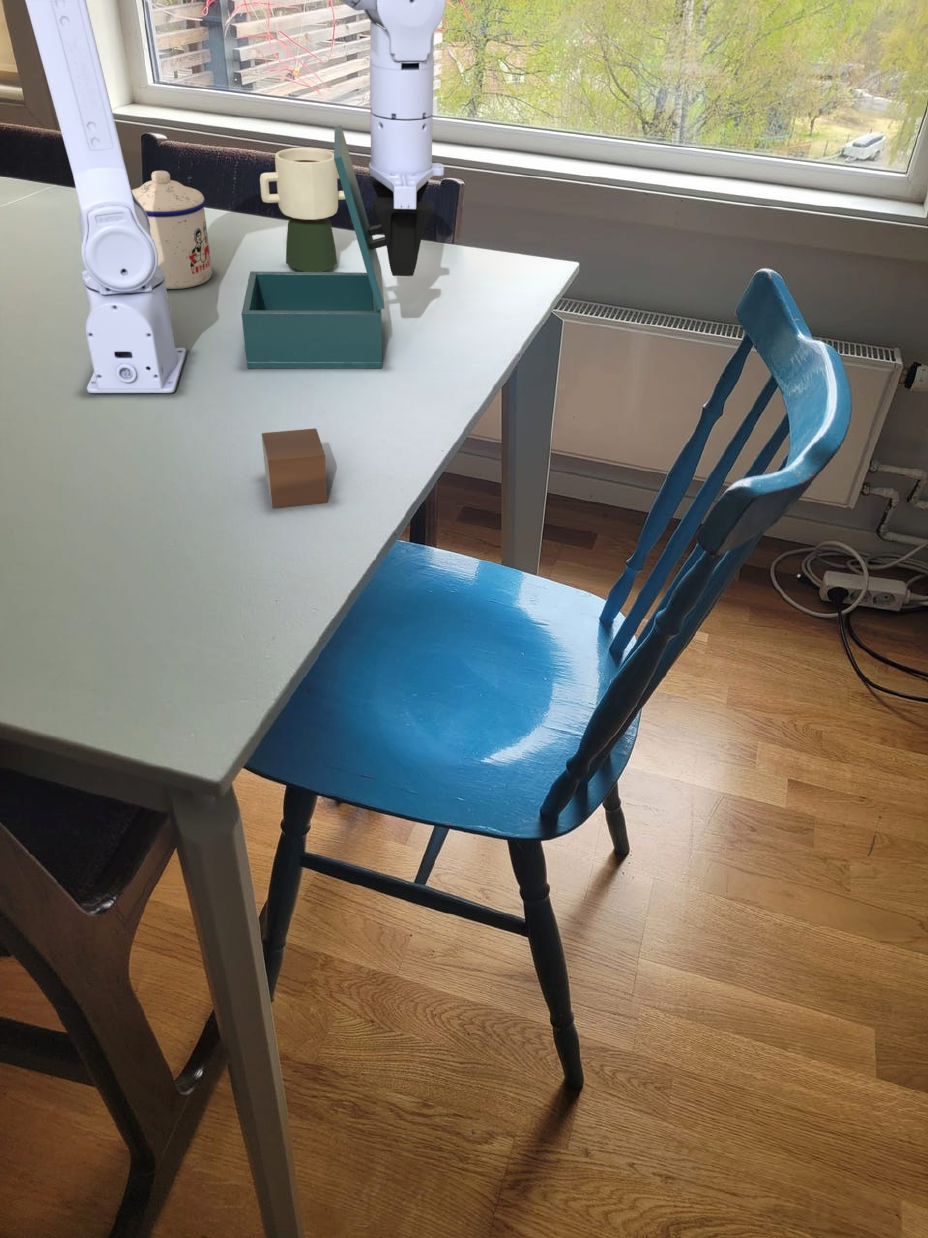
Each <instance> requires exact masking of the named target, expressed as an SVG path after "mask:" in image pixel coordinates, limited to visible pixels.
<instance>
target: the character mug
mask: <svg viewBox="0 0 928 1238" xmlns="http://www.w3.org/2000/svg"><path fill="white" fill-rule="evenodd" d="M274 165H275V171H273V172H263V173H261V174H260V177H259V184H260V186H259V187H260V197H261V200H262V202H263V203H266V204H277V205H278V208H279V210H280V212H281V213H282V214H283V215H284V216H287V217H290V218H289V220H288V223H287V230H286V231H287V233H286V247H285V249H286V250H285V264H286V265H288V266H289V268H292V269H295V270H298V271H299V272H327V271H328V270H331V269H333V268H334V267H335V266H336V265H337V263H338V259H337V258H338V257H337V251H336V243H335V237H334V233H333V232H334V231H333V227H332V226H333V225H332V223H331V221H330V219H329V217H332V216H334V215H335V214H337V212H338V209H339V200H340V201H341V200H346V199H345V195H344V192H343V190H338V189H339V187H338V180H340V178H339V175H338V171H337V168H336V164H335V161H334V151H330V150H327V149H322V148H318V147H317V148H316V147H293V148H292V147H291V148H285V149H282V150H279V151H277V152H276V153H275V157H274ZM270 182H276V190H277V193H270V184H269V183H270Z"/></svg>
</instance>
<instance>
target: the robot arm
mask: <svg viewBox="0 0 928 1238" xmlns="http://www.w3.org/2000/svg"><path fill="white" fill-rule="evenodd" d="M24 1H25V5H26V8H27V12H28V15H29V19H30V23H31V27H32V30H33V35H34V38H35V41H36V45H37V48H38V53H39V56H40V59H41V63H42V66H43V67H42V68H43V70H44V74H45V77H46V81H47V85H48V89H49V92H50V96H51V100H52V104H53V107H54V110H55V114H56V118H57V121H58V122H57V123H58V125H59V129H60V132H61V137H62V140H63V143H64V148H65V151H66V154H67V158H68V162H69V166H70V169H71V173H72V176H73V177H72V178H73V181H74V182H73V183H74V187H75V190H76V195H77V199H78V204H79V212H78V220H77V221H78V229H79V233H80V237H81V247H80V253H81V260H82V263H83V266H84V268H85V269H83V270H82V272H81V274H82V276H81V278H82V282H83V287H84V292H85V298H86V301H87V307H88V311H89V312H88V316H87V319H86V322H85V335H86V342H87V345H88V350H89V355H90V359H91V365H92V370H93V373H92V376H91V377H90V379H89V382H88V384H87V385H86V391H87V392H88V393H89V394H172V393H174V392H175V391H176V388H177V384H178V383H179V378H180V375H181V372H182V368H183V364H184V362H185V359H186V354H187V348H185V347H176V343H175V336H174V330H173V325H172V316H171V311H170V304H169V297H168V291H167V290H168V289H166V284H165V278H164V271H163V269H162V268H160V267H159V266H158V265H157V264H158V253H157V249H156V246H155V243H154V240H153V239H152V237H151V233H150V223H149V218H148V216H147V213H146V211H145V210H144V208H143V207H142V205H141V204H140V203H139V202H138V200H137V199H136V198H135V196H134V195H133V192H132V190H133V189H132V188H131V184H130V182H129V176H128V172H127V166H126V164H125V163H126V162H125V159H124V155H123V151H122V147H121V142H120V138H119V134H118V130H117V126H116V122H115V117H114V112H113V109H112V104H111V100H110V96H109V91H108V88H107V84H106V80H105V79H106V78H105V75H104V71H103V68H102V63H101V59H100V54H99V50H98V46H97V45H98V44H97V42H96V38H95V33H94V28H93V25H92V21H91V16H90V11H89V8H88V4H87V0H24ZM339 1H340V2H341V3H342V4H344V5H346V6H348V7H349V8H351V9H353V10H354V11H363V12H364V14H365V15H366V17H367V18H368V19H369V21H370V23H369V27H370V28H369V30H370V32H369V34H370V36H369V37H370V38H369V39H370V41H369V42H370V51H369V105H370V106H369V108H370V109H369V110H370V112H369V117H370V118H369V119H370V122H369V123H370V162H369V163H368V173H369V175H370V176H371V177H370V183H371V186H372V187H373V189H374V191H375V193H376V197H375V196H373V197H372V207H373V209H374V210H373V211H374V213H375V214H376V216H377V219H378V220H379V224H381V226H382V229H383V232H384V233H383V235H384V236H383V237H385V240H386V246H385V247H386V251H387V258H388V259H387V260H388V264H389V269H390V273H391V275H392V276H393V277H414V274H415V271H416V267H417V262H418V258H419V252H420V247H421V242H422V239H423V235H424V232H425V229H426V227H427V225H428V222H429V221H430V219H431V217H432V215H433V213H434V210H435V205H434V202H433V201H422V199H423V196H424V194H425V192H426V190H427V188H428V185H429V181H430V180H431V179H433V177H442V176H444V175H445V167H444V164H443V163H441V162H433V126H434V125H433V122H434V121H433V119H434V118H433V117H434V81H435V79H434V78H435V74H434V73H435V57H434V50H435V49H434V44H435V41H434V40H435V31H436V29H437V28H438V27H439V25H440V24H441V22H442V20H443V17H444V15H445V10H446V4H447V0H339Z"/></svg>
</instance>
